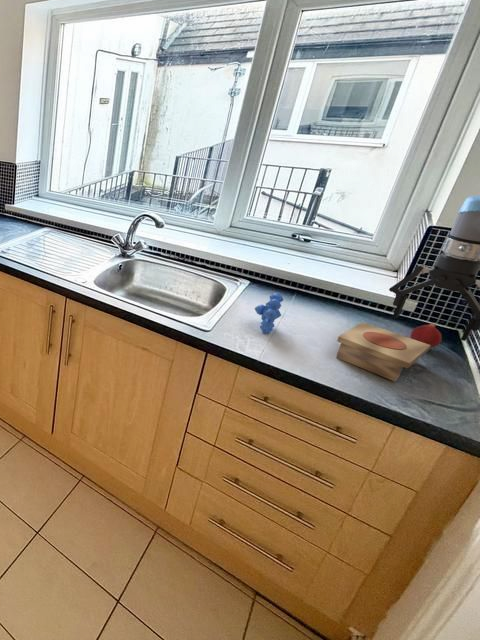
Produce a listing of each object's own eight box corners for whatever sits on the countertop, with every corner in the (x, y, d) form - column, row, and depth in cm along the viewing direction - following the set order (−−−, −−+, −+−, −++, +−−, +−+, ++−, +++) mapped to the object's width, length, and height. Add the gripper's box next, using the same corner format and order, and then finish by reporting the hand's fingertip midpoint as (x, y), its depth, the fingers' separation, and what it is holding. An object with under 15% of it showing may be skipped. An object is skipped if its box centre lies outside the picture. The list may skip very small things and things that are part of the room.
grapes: (252, 317, 133) (262, 283, 128) (277, 324, 129) (289, 290, 124) (245, 332, 125) (257, 297, 120) (273, 341, 121) (285, 304, 116)
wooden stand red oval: (421, 364, 110) (431, 344, 108) (400, 384, 102) (410, 362, 100) (355, 340, 121) (362, 321, 119) (331, 355, 114) (338, 335, 112)
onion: (405, 347, 118) (417, 323, 115) (406, 339, 122) (418, 315, 119) (434, 356, 114) (447, 331, 111) (435, 348, 118) (448, 324, 115)
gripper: (392, 244, 116) (365, 311, 124) (535, 275, 97) (492, 353, 104) (402, 240, 120) (375, 305, 128) (542, 269, 100) (500, 345, 108)
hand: (428, 327), depth 116 cm, fingers open, 13 cm apart
